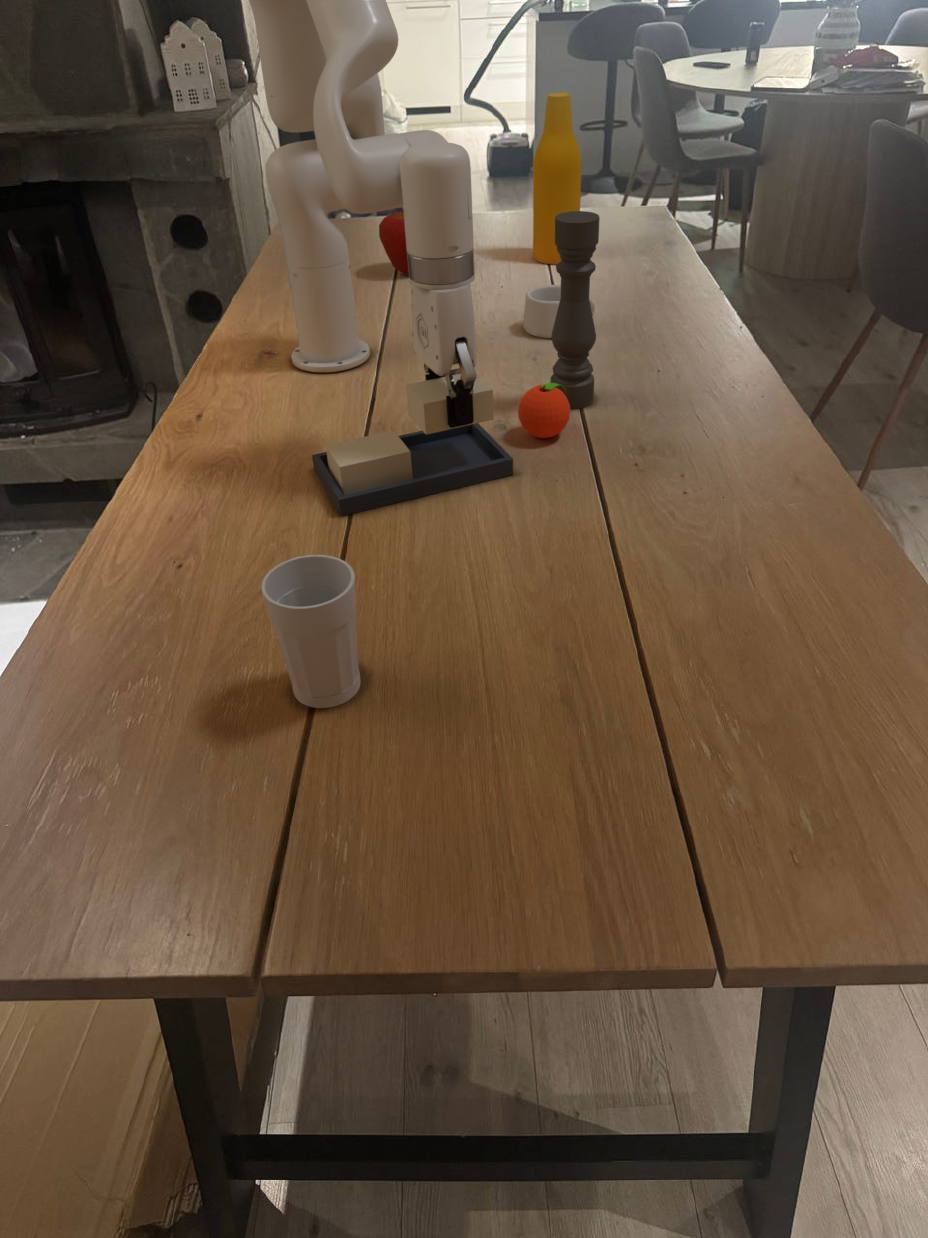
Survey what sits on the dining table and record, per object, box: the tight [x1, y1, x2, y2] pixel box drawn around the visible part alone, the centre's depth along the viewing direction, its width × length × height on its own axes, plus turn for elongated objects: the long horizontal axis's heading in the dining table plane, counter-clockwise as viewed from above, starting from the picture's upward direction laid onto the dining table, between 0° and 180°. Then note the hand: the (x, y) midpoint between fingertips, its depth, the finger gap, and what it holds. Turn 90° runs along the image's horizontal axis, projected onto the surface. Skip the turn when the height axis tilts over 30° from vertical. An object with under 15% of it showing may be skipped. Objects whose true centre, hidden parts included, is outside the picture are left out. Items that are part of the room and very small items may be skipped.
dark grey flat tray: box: [311, 423, 514, 517], centre depth 118 cm, size 13×23×2 cm, turn 112°
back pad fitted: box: [325, 430, 413, 496], centre depth 115 cm, size 6×9×4 cm
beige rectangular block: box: [405, 374, 495, 435], centre depth 115 cm, size 6×9×4 cm
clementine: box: [517, 382, 571, 439], centre depth 123 cm, size 8×7×7 cm
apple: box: [378, 210, 409, 276], centre depth 179 cm, size 11×11×12 cm
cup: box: [261, 554, 362, 709], centre depth 83 cm, size 8×8×12 cm
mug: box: [522, 284, 596, 339], centre depth 154 cm, size 12×10×6 cm
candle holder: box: [550, 210, 600, 410], centre depth 126 cm, size 6×6×25 cm
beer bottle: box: [532, 92, 583, 265], centre depth 178 cm, size 9×9×29 cm
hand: (450, 412), depth 115 cm, fingers closed on beige rectangular block, 6 cm apart
